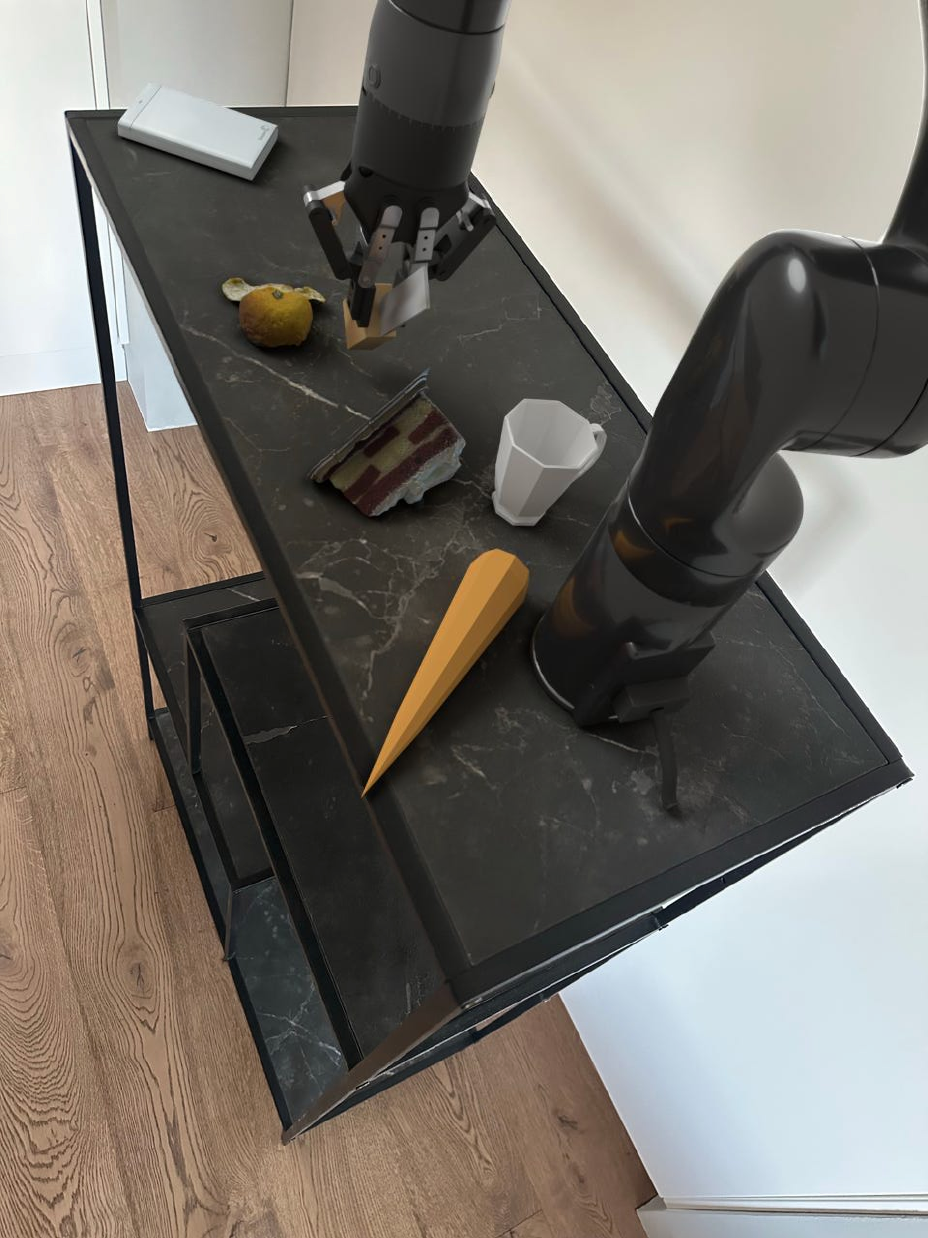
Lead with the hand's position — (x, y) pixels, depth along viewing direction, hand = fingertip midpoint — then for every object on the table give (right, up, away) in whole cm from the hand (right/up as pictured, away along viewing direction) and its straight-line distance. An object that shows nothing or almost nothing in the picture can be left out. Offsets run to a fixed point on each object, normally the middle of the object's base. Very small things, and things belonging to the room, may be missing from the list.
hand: (377, 319), depth 67 cm
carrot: (+4, -24, -10) cm, 26 cm away
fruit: (-9, +3, +8) cm, 12 cm away
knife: (+1, -2, -2) cm, 3 cm away
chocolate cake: (+1, -12, +2) cm, 12 cm away
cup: (+12, -13, +4) cm, 18 cm away
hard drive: (-12, +22, +18) cm, 31 cm away
